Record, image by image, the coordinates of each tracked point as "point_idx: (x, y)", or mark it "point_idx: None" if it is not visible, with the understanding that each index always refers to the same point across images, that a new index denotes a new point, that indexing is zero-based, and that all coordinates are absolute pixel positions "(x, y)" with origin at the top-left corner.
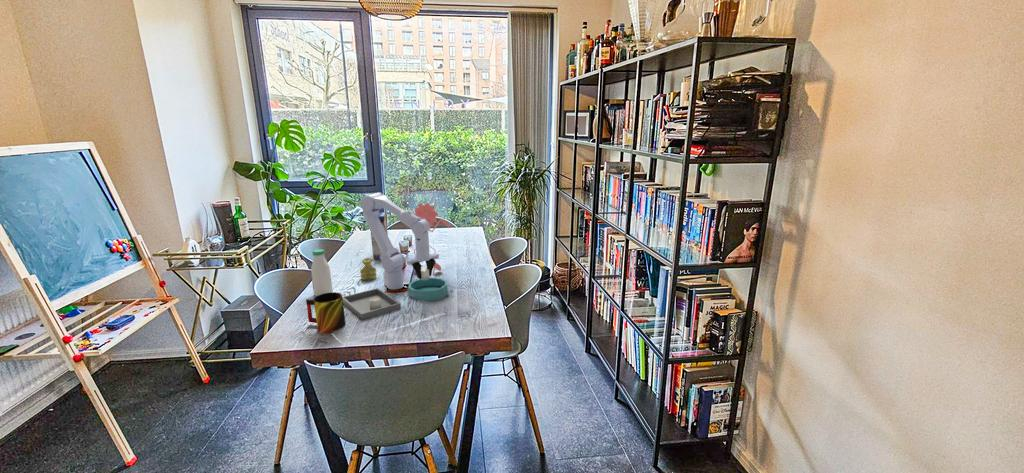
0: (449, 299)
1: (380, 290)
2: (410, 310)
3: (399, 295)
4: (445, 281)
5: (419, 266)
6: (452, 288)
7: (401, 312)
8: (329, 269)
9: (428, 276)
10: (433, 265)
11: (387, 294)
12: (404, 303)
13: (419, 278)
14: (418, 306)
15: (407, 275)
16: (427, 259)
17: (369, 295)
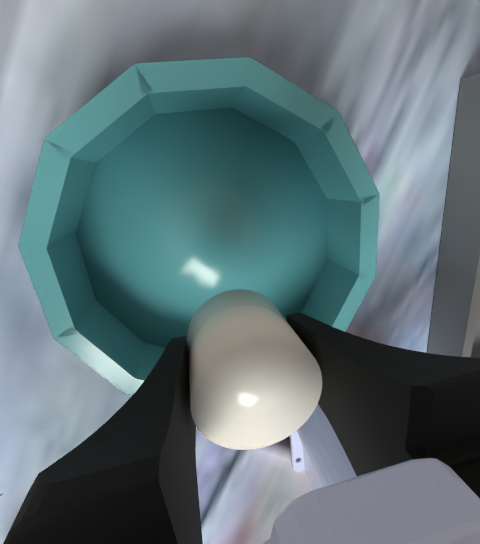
0: (103, 27)
1: (467, 350)
2: (426, 28)
3: (360, 308)
4: (36, 248)
5: (438, 370)
6: (5, 253)
7: (477, 37)
8: None
9: (213, 311)
10: (110, 425)
11: (476, 273)
12: (396, 175)
13: (304, 315)
14: (358, 61)
15: (213, 541)
16: (413, 529)
17: (477, 354)
